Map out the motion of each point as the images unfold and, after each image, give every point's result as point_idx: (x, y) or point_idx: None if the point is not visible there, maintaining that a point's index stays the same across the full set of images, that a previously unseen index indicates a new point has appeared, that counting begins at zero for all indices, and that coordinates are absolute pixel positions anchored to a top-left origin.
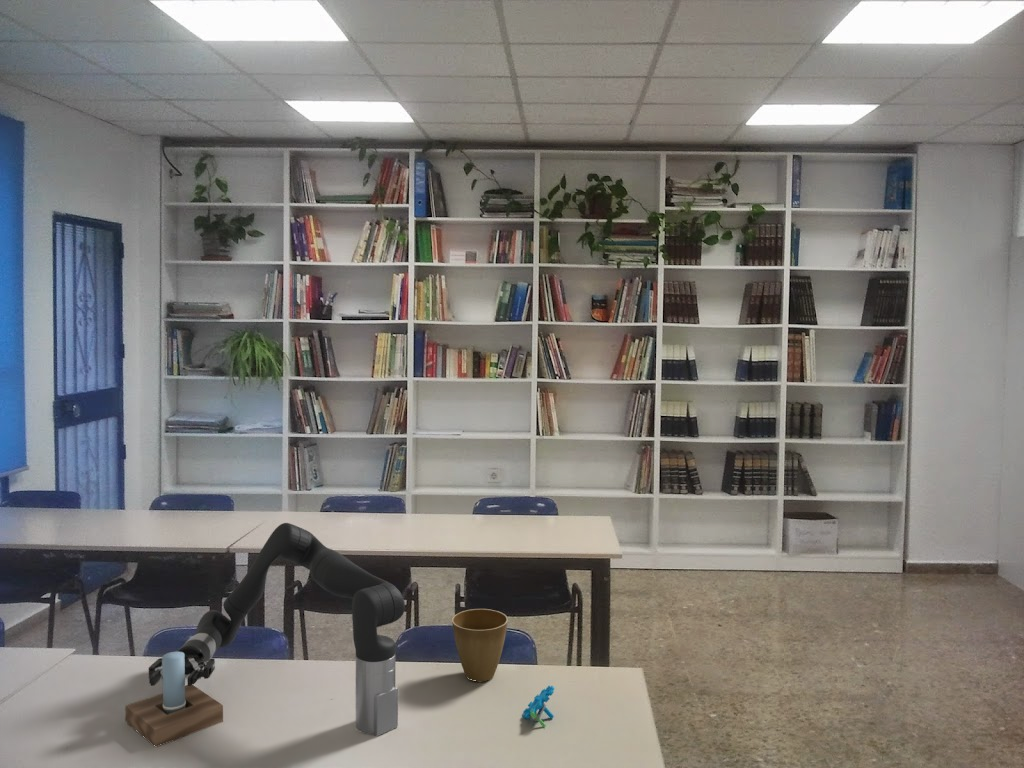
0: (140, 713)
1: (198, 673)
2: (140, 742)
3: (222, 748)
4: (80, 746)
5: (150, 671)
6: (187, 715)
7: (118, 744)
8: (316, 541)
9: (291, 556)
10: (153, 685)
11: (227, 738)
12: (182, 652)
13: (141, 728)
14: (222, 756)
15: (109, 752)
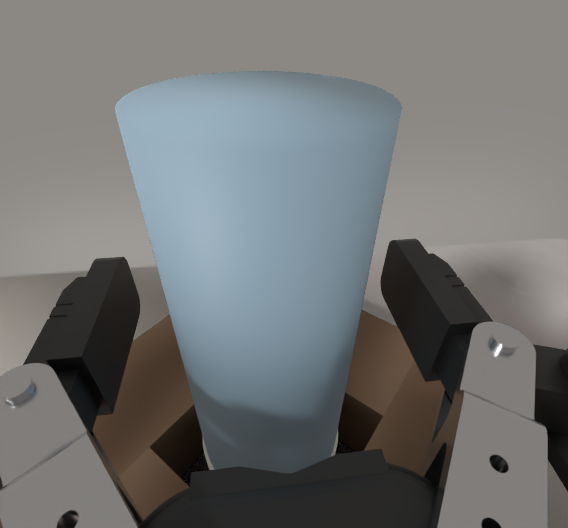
0: (388, 337)
1: (28, 361)
2: None
3: (30, 315)
4: (476, 287)
5: (561, 353)
6: (159, 344)
7: (377, 303)
8: None
9: None
10: (381, 284)
11: (4, 368)
12: (163, 133)
13: None
14: (34, 284)
15: (369, 273)
